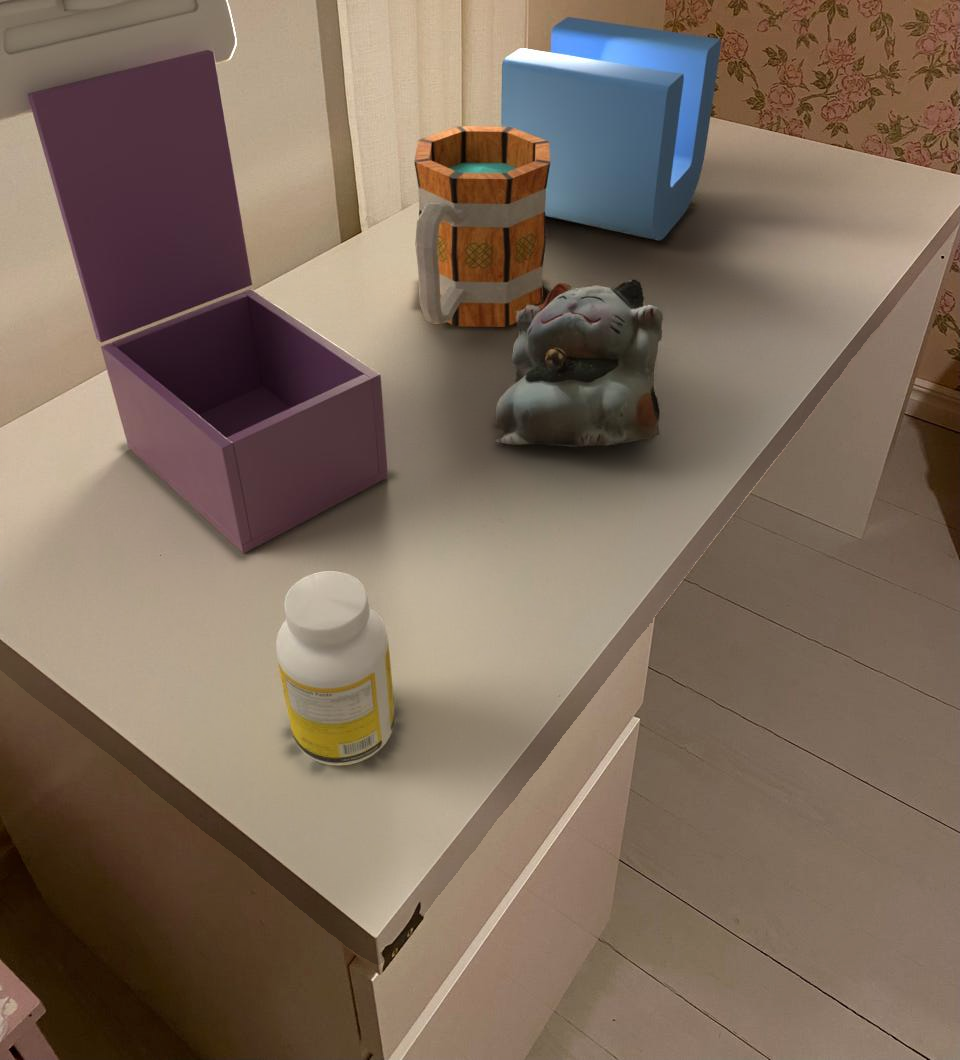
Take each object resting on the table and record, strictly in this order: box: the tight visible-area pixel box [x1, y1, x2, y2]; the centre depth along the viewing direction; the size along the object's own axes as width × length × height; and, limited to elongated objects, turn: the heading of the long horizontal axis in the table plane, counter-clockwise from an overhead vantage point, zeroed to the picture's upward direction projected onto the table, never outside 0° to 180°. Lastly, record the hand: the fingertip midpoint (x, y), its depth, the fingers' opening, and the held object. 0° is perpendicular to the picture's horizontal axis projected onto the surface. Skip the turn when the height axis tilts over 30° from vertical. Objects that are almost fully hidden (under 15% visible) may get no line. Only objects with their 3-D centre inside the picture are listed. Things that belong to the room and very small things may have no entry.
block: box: [500, 16, 722, 241], centre depth 117 cm, size 18×18×18 cm
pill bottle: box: [275, 570, 395, 766], centre depth 62 cm, size 6×6×12 cm
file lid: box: [28, 50, 253, 343], centre depth 80 cm, size 19×14×5 cm
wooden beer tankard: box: [414, 125, 550, 328], centre depth 101 cm, size 20×14×15 cm
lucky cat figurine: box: [495, 278, 664, 448], centre depth 87 cm, size 15×12×14 cm
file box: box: [100, 288, 389, 554], centre depth 83 cm, size 18×14×10 cm
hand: (123, 148), depth 79 cm, fingers closed on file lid, 4 cm apart
